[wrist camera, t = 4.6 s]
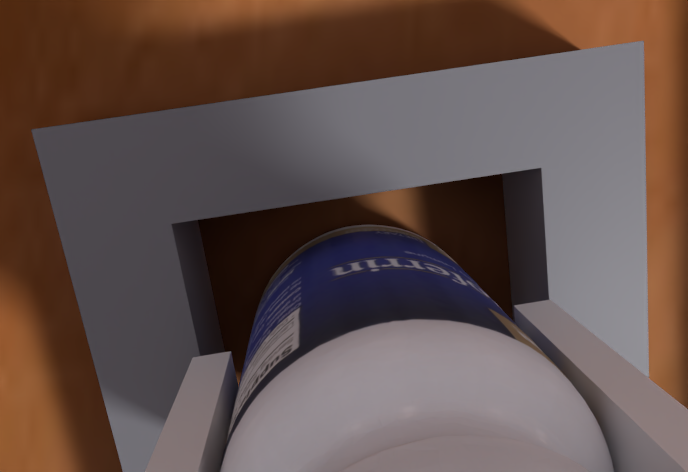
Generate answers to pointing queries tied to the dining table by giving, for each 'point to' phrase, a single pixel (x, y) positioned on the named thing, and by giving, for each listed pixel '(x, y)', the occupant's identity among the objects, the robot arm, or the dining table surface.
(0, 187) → the dining table surface
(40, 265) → the dining table surface
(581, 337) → the robot arm
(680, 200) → the dining table surface
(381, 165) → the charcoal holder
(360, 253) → the pill bottle
